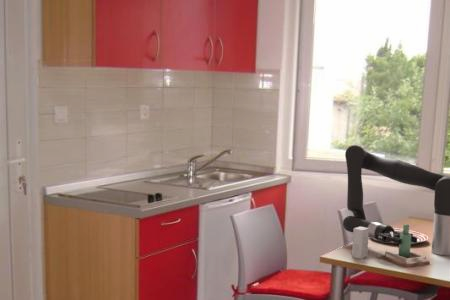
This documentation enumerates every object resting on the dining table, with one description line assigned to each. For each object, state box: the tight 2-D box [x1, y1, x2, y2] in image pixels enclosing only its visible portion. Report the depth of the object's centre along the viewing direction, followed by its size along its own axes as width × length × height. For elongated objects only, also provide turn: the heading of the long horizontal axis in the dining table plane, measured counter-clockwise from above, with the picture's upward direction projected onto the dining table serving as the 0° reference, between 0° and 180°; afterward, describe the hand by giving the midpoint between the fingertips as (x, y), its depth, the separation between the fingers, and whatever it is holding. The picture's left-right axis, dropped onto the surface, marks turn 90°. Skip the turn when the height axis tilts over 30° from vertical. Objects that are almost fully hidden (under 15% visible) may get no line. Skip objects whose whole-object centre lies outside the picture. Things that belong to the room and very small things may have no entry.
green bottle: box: [398, 223, 412, 258], centre depth 242 cm, size 4×4×14 cm
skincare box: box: [351, 227, 369, 260], centre depth 247 cm, size 6×4×12 cm
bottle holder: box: [378, 251, 431, 268], centre depth 243 cm, size 14×14×3 cm
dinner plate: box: [388, 227, 429, 245], centre depth 281 cm, size 27×27×3 cm
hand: (409, 240), depth 240 cm, fingers open, 8 cm apart
